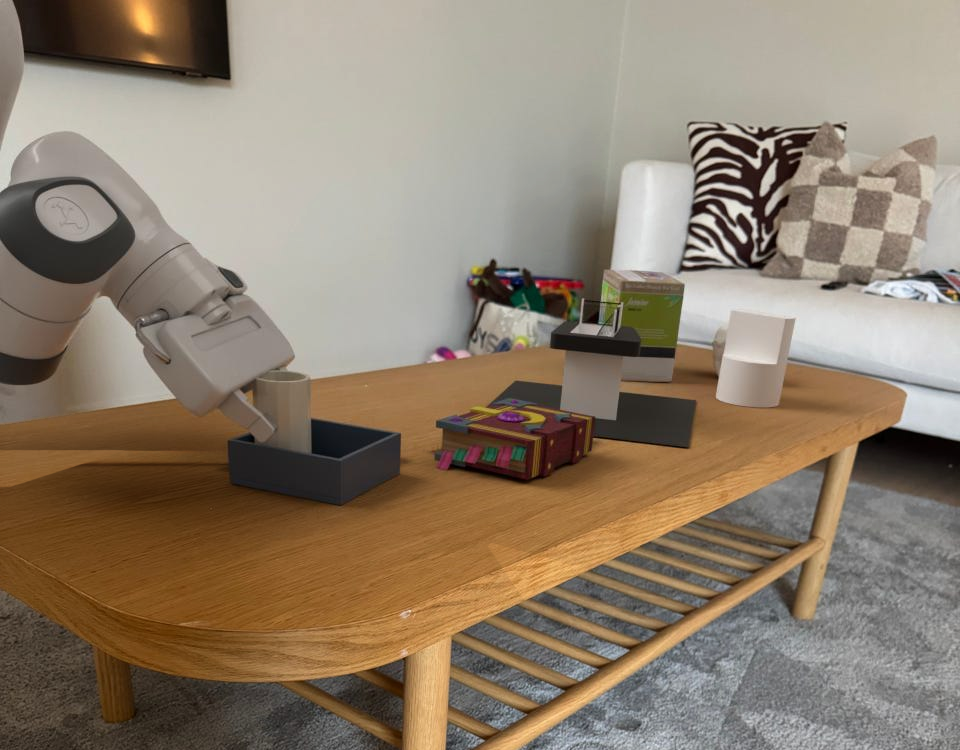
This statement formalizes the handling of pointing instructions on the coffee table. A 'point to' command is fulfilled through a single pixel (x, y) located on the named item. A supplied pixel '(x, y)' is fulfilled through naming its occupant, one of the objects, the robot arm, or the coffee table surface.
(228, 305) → the robot arm
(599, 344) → the black-topped pedestal
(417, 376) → the coffee table surface
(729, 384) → the base with upright slab
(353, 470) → the slate bin
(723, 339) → the penguin figurine
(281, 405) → the cream cup
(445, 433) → the decorative book
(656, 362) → the tea box
